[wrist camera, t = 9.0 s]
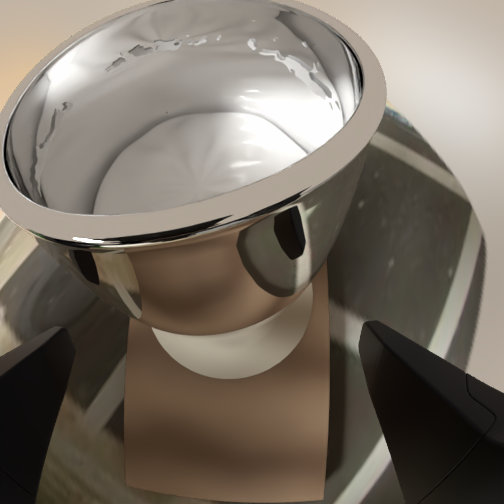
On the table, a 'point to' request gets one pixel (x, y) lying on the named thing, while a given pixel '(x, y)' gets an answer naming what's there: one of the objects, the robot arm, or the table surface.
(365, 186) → the table surface
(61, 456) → the table surface
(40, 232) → the metal tumbler
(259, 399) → the walnut base
